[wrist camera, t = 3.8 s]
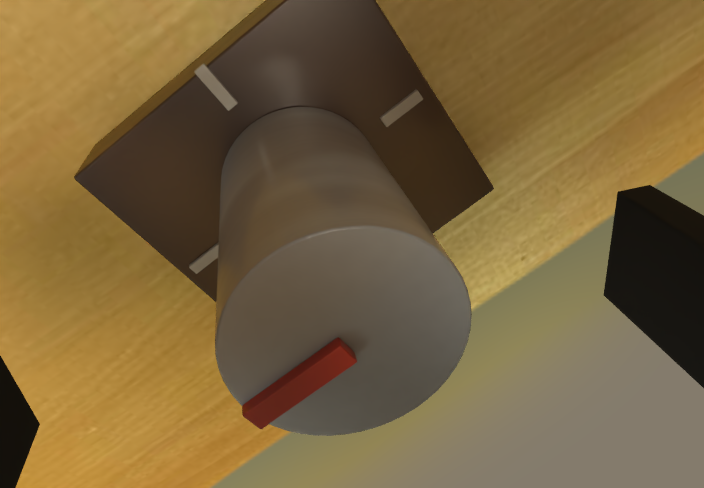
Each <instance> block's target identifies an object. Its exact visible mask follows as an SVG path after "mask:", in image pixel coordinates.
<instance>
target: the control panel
mask: <svg viewBox="0 0 704 488" xmlns="http://www.w3.org/2000/svg"><path fill="white" fill-rule="evenodd" d="M293 107H313V108H319V109H324V110H327V111H330V112H333V113H335V114H337V115H339V116H341V117H343V118H345V119H346V120H348V121H349V122H351V123H352V124H353V125H354V126H355V127H356V128H358V129H359V130H360V132H361V133H362V134H363V135H364V136H365V137H366V139H367V140H368V142H369V143H370V145H371V146H372V147H373V149H374V150H375V152H376V153H377V155H378V156H379V157H380V159H381V160H382V162H383V163H384V165H385V166H386V167H387V169H388V170H389V172H390V173H391V175H392V176H393V178H394V179H395V180H396V182H397V183H398V185H399V186H400V188H401V189H402V190H403V192H404V193H405V195H406V196H407V198H408V199H409V200H410V202H411V203H412V205H413V206H414V208H415V209H416V210H417V212H418V213H419V215H420V216H421V218H422V219H423V220H424V222H425V223H426V225H427V226H428V228H429V229H430V230H431V232H432V233H434V232H435V231H437V230H438V229H440V228H441V227H442V226H444V225H445V224H446V223H448V222H449V221H451V220H452V219H453V218H455V217H456V216H458V215H459V214H460V213H462V212H463V211H464V210H466V209H467V208H469V207H470V206H471V205H473V204H474V203H475V202H477V201H478V200H480V199H481V198H482V197H484V196H485V195H487V194H488V193H489V192H491V191H492V190H493V189H494V187H493V185H492V183H491V182H490V180H489V179H488V177H487V175H486V174H485V172H484V171H483V169H482V168H481V166H480V164H479V163H478V161H477V160H476V158H475V157H474V155H473V153H472V152H471V150H470V149H469V147H468V145H467V144H466V142H465V141H464V139H463V138H462V136H461V134H460V133H459V131H458V130H457V128H456V127H455V125H454V123H453V122H452V120H451V119H450V117H449V116H448V114H447V112H446V111H445V109H444V108H443V106H442V105H441V103H440V101H439V100H438V98H437V97H436V95H435V93H434V92H433V90H432V89H431V87H430V86H429V84H428V82H427V81H426V79H425V78H424V76H423V75H422V73H421V71H420V70H419V68H418V67H417V65H416V64H415V62H414V60H413V59H412V57H411V56H410V54H409V53H408V51H407V49H406V48H405V46H404V45H403V43H402V41H401V40H400V38H399V37H398V35H397V34H396V32H395V30H394V29H393V27H392V26H391V24H390V23H389V21H388V19H387V18H386V16H385V15H384V13H383V12H382V10H381V8H380V7H379V5H378V4H377V2H376V1H375V0H266V1H265V2H264V3H262V4H261V5H260V6H259V7H258V8H257V9H255V10H254V11H253V12H252V13H251V14H249V15H248V16H247V17H246V18H245V19H244V20H242V21H241V22H240V23H239V24H238V25H236V26H235V27H234V28H233V29H232V30H231V31H229V32H228V33H227V34H226V35H225V36H223V37H222V38H221V39H220V40H219V41H218V42H216V43H215V44H214V45H213V46H212V47H210V48H209V49H208V50H207V51H206V52H204V53H203V54H202V55H201V56H200V57H199V58H197V59H196V60H195V61H194V62H193V63H191V64H190V65H189V66H188V67H187V68H186V69H184V70H183V71H182V72H181V73H180V74H178V75H177V76H176V77H175V78H174V79H173V80H171V81H170V82H169V83H168V84H167V85H165V86H164V87H163V88H162V89H161V90H160V91H158V92H157V93H156V94H155V95H154V96H152V97H151V98H150V99H149V100H148V101H147V102H145V103H144V104H143V105H142V106H141V107H139V108H138V109H137V110H136V111H135V112H134V113H132V114H131V115H130V116H129V117H128V118H126V119H125V120H124V121H123V122H122V123H121V124H119V125H118V126H117V127H116V128H115V129H113V130H112V131H111V132H110V133H109V134H107V135H106V136H105V137H104V138H103V139H102V140H100V141H99V142H98V143H97V144H96V145H95V146H94V147H93V149H92V150H91V152H90V153H89V155H88V156H87V158H86V159H85V161H84V162H83V164H82V165H81V167H80V168H79V170H78V172H77V173H76V175H75V176H74V178H75V180H76V181H77V182H79V183H80V184H81V185H82V186H83V187H84V188H86V189H87V190H88V191H89V192H90V193H91V194H92V195H94V196H95V197H96V198H97V199H98V200H99V201H100V202H102V203H103V204H104V205H105V206H106V207H107V208H109V209H110V210H111V211H112V212H113V213H114V214H115V215H117V216H118V217H119V218H120V219H121V220H122V221H123V222H125V223H126V224H127V225H128V226H129V227H130V228H132V229H133V230H134V231H135V232H136V233H137V234H138V235H140V236H141V237H142V238H143V239H144V240H145V241H147V242H148V243H149V244H150V245H151V246H152V247H153V248H155V249H156V250H157V251H158V252H159V253H160V254H161V255H163V256H164V257H165V258H166V259H167V260H168V261H170V262H171V263H172V264H173V265H174V266H175V267H176V268H178V269H179V270H180V271H181V272H182V273H183V274H184V275H186V276H187V277H188V278H189V279H190V280H191V281H193V282H194V283H195V284H196V285H197V286H198V287H199V288H201V289H202V290H203V291H204V292H205V293H206V294H208V295H209V296H210V297H211V298H212V299H213V300H214V301H217V274H218V247H219V220H220V192H221V175H222V169H223V165H224V161H225V158H226V156H227V154H228V151H229V149H230V148H231V146H232V145H233V143H234V141H235V140H236V139H237V138H238V136H239V135H240V134H241V133H242V132H243V131H244V130H245V129H246V128H247V127H248V126H249V125H251V124H252V123H254V122H255V121H256V120H258V119H260V118H262V117H263V116H265V115H267V114H270V113H272V112H275V111H278V110H282V109H286V108H293Z"/></svg>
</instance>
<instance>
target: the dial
mask: <svg viewBox="0 0 704 488" xmlns="http://www.w3.org/2000/svg"><path fill="white" fill-rule="evenodd" d="M470 326H471V302H470V298H469V294H468V289H467V287H466V285H465V282H464V280H463V278H462V276H461V274H460V273H459V271H458V269H457V268H456V266H455V265H454V263H453V262H452V261H451V259H450V258H449V256H448V255H447V253H446V252H445V251H444V249H443V248H442V246H441V245H440V243H439V242H438V240H437V239H436V238H435V236H434V235H433V233H432V232H431V230H430V229H429V228H428V226H427V225H426V223H425V222H424V220H423V219H422V218H421V216H420V215H419V213H418V212H417V210H416V209H415V208H414V206H413V205H412V203H411V202H410V200H409V199H408V198H407V196H406V195H405V193H404V192H403V190H402V189H401V188H400V186H399V185H398V183H397V182H396V180H395V179H394V178H393V176H392V175H391V173H390V172H389V170H388V169H387V167H386V166H385V165H384V163H383V162H382V160H381V159H380V157H379V156H378V155H377V153H376V152H375V150H374V149H373V147H372V146H371V145H370V143H369V142H368V140H367V139H366V137H365V136H364V135H363V134H362V133H361V132H360V130H359V129H358V128H356V127H355V126H354V125H353V124H352V123H351V122H349V121H348V120H346V119H345V118H343V117H341V116H339V115H337V114H335V113H333V112H330V111H327V110H324V109H319V108H313V107H293V108H286V109H282V110H278V111H275V112H272V113H270V114H267V115H265V116H263V117H262V118H260V119H258V120H256V121H255V122H254V123H252V124H251V125H249V126H248V127H247V128H246V129H245V130H244V131H243V132H242V133H241V134H240V135H239V136H238V138H237V139H236V140H235V141H234V143H233V145H232V146H231V148H230V149H229V151H228V154H227V156H226V158H225V161H224V165H223V169H222V175H221V192H220V220H219V247H218V274H217V301H216V328H215V354H216V359H217V364H218V368H219V371H220V374H221V376H222V379H223V381H224V383H225V384H226V386H227V388H228V389H229V391H230V393H231V394H232V395H233V396H234V397H235V399H236V400H237V401H238V402H239V403H240V404H241V405H242V413H243V417H245V418H246V419H248V420H249V421H250V422H252V423H253V424H254V425H256V426H257V427H258V428H260V429H263V428H264V427H265V426H267V425H268V424H271V425H273V426H275V427H278V428H281V429H284V430H287V431H291V432H296V433H300V434H308V435H327V436H331V435H343V434H350V433H356V432H361V431H365V430H368V429H372V428H375V427H378V426H381V425H383V424H386V423H389V422H391V421H393V420H395V419H397V418H399V417H401V416H403V415H405V414H406V413H408V412H410V411H412V410H413V409H415V408H416V407H418V406H419V405H420V404H422V403H423V402H424V401H426V400H427V399H428V398H429V397H430V396H432V395H433V394H434V393H435V392H436V391H437V390H438V389H439V388H440V387H441V386H442V385H443V383H444V382H445V381H446V380H447V379H448V377H449V376H450V375H451V373H452V372H453V371H454V369H455V368H456V366H457V364H458V362H459V361H460V359H461V357H462V355H463V352H464V350H465V347H466V344H467V341H468V337H469V333H470Z"/></svg>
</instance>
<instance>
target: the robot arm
mask: <svg viewBox="0 0 704 488" xmlns="http://www.w3.org/2000/svg"><path fill="white" fill-rule="evenodd" d="M604 296H605V297H606V298H607V299H608V300H609V301H611V302H612V303H613V304H614V305H615V306H616V307H617V308H618V309H619V310H620V311H621V312H622V313H623V314H625V315H626V316H627V317H628V318H629V319H630V320H631V321H632V322H633V323H634V324H635V325H636V326H638V327H639V328H640V329H641V330H642V331H643V332H644V333H645V334H646V335H647V336H648V337H649V338H650V339H651V340H653V341H654V342H655V343H656V344H657V345H658V346H659V347H660V348H661V349H662V350H663V351H664V352H665V353H667V354H668V355H669V356H670V357H671V358H672V359H673V360H674V361H675V362H676V363H677V364H678V365H680V367H682V368H683V369H684V370H685V371H686V372H687V373H688V374H689V375H690V376H691V377H692V378H693V379H695V380H696V381H697V382H698V383H699V384H700V385H701V386H702V387H703V388H704V216H703V215H702V214H700V213H698V212H696V211H695V210H693V209H691V208H689V207H687V206H686V205H684V204H682V203H680V202H679V201H677V200H675V199H673V198H672V197H670V196H668V195H666V194H665V193H662V192H661V191H659V190H657V189H656V188H654V187H652V186H651V185H648V186H643V187H638V188H634V189H629V190H624V191H619V192H618V194H617V201H616V209H615V216H614V223H613V231H612V238H611V245H610V252H609V260H608V267H607V274H606V282H605V289H604ZM39 425H40V424H39V422H38V420H37V418H36V417H35V415H34V413H33V411H32V410H31V408H30V406H29V404H28V403H27V401H26V399H25V398H24V396H23V394H22V392H21V391H20V389H19V387H18V385H17V384H16V382H15V380H14V378H13V377H12V375H11V373H10V371H9V370H8V368H7V366H6V365H5V363H4V361H3V359H2V358H1V356H0V488H15V487H16V485H17V482H18V479H19V477H20V474H21V472H22V469H23V466H24V464H25V461H26V459H27V456H28V454H29V451H30V448H31V446H32V443H33V441H34V438H35V435H36V433H37V430H38V428H39Z"/></svg>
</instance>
